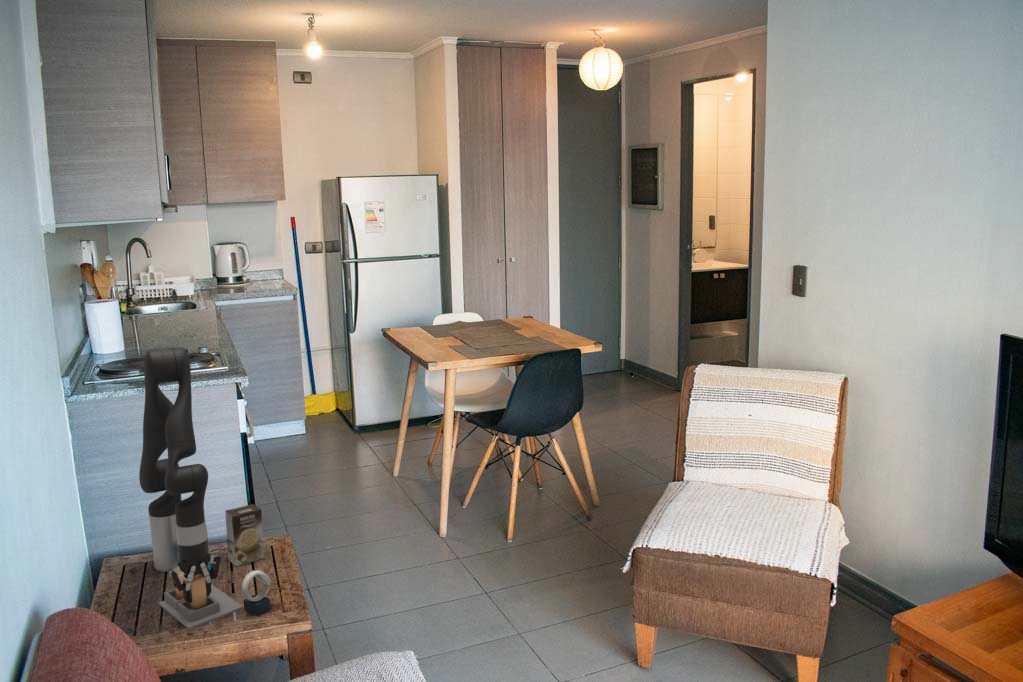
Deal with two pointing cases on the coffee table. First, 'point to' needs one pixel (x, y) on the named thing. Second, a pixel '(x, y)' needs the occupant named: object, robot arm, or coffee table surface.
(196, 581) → the orange peg
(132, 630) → the coffee table surface
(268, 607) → the watch
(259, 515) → the coffee box
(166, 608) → the housing
